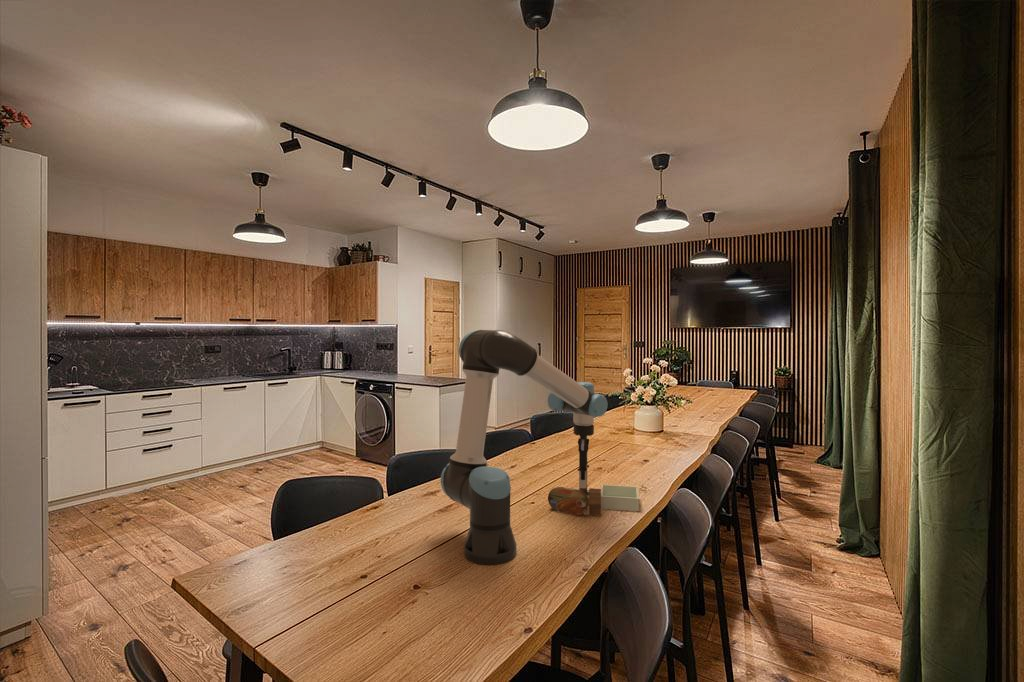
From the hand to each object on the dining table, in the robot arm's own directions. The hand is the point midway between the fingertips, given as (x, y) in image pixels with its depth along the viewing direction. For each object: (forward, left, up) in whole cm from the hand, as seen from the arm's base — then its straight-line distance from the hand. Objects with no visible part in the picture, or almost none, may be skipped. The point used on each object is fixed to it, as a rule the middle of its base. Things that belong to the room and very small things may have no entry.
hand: (583, 486), depth 178 cm
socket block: (0, 0, -6) cm, 6 cm away
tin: (-11, +4, -6) cm, 14 cm away
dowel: (0, 0, -4) cm, 4 cm away
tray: (0, -13, -6) cm, 14 cm away
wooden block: (-11, -5, -6) cm, 13 cm away
